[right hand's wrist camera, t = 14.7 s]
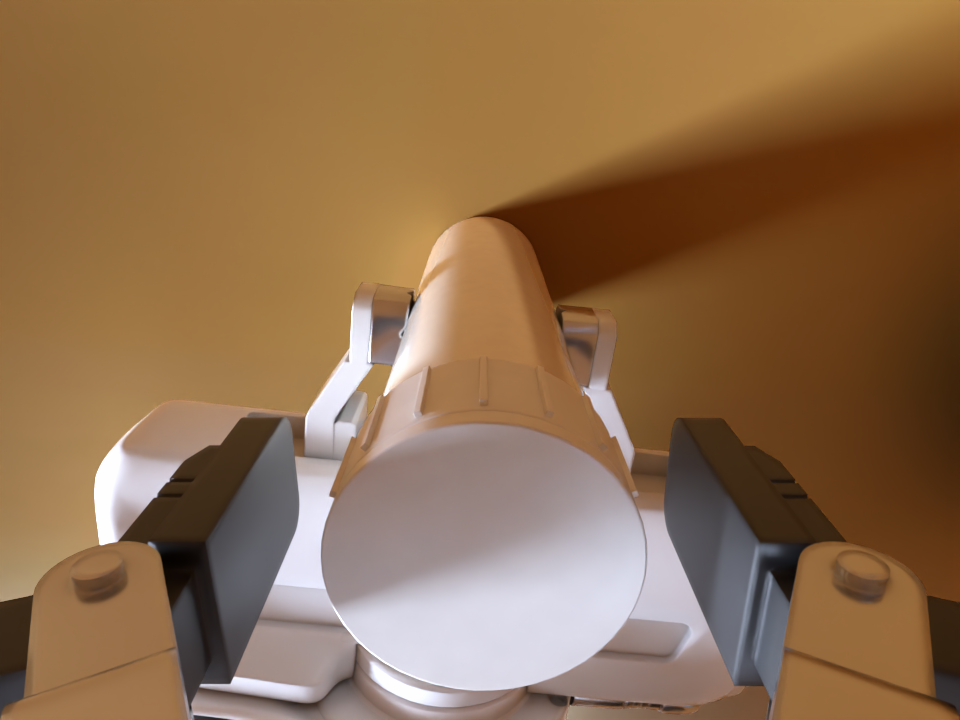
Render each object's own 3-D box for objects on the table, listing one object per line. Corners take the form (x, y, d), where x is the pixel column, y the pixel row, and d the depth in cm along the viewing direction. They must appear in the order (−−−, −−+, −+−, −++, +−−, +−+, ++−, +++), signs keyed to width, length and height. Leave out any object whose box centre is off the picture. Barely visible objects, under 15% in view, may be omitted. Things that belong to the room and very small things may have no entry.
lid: (298, 513, 11) (258, 605, 9) (441, 299, 10) (431, 351, 8) (517, 629, 12) (525, 737, 10) (675, 447, 11) (721, 529, 9)
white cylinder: (406, 286, 25) (289, 580, 10) (466, 193, 24) (439, 363, 8) (497, 343, 26) (520, 697, 11) (559, 256, 24) (687, 514, 9)
